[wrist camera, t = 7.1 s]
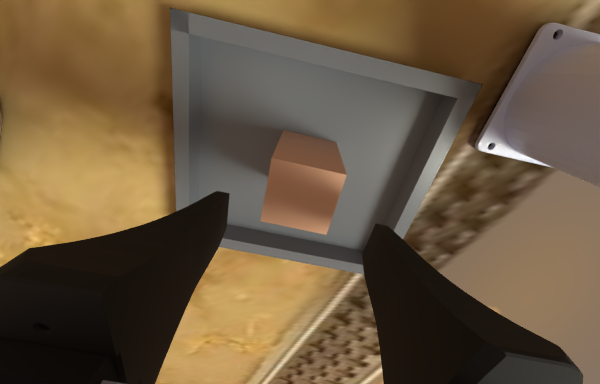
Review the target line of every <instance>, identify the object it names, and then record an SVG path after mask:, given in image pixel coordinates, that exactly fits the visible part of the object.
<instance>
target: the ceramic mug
mask: <svg viewBox="0 0 600 384" xmlns="http://www.w3.org/2000/svg"><path fill="white" fill-rule="evenodd" d="M1 130H2V116H1V109H0V137H1Z"/></svg>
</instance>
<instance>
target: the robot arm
mask: <svg viewBox="0 0 600 384" xmlns="http://www.w3.org/2000/svg"><path fill="white" fill-rule="evenodd" d="M556 31H557V36H556V37H555V38H554V39H553V35H554V33H555V32H556ZM490 143H492V145H491V147H489V148H487V147H488V145H489V144H490ZM475 148H476V149H477V150H479V151H482V152H487V153H491V154H495V155H500V156H504V157H509V158H513V159H517V160H522V161H526V162H531V163H535V164H539V165H544V166H548V167H553V168H556V169H558V170H561V171H563V172H565V173H567V174H570V175H572V176H574V177H577V178H579V179H582V180H584V181H586V182H589V183H591V184H593V185H595V186H598V187H600V34H596V33H592V32H589V31H585V30H581V29H577V28H574V27H570V26H566V25H562V24H559V23H547V24H545V25H543V26H542V27H541V28H540V29H539V30H538V32H537V33H536V35H535V37H534V39H533V41H532V42H531V44H530V46H529V48H528V50H527V51H526V53H525V55H524V57H523V58H522V60H521V62H520V64H519V66H518V67H517V69H516V71H515V73H514V75H513V76H512V78H511V80H510V82H509V84H508V85H507V87H506V89H505V91H504V92H503V94H502V96H501V98H500V100H499V101H498V103H497V105H496V107H495V109H494V110H493V112H492V114H491V116H490V117H489V119H488V121H487V123H486V125H485V126H484V128H483V130H482V132H481V134H480V135H479V137H478V139H477V141H476V143H475ZM229 196H230V193H225V192H220V191H215V192H213V193H212V194H210V195H208V196H206V197H204V198H202V199H200V200H199V201H197V202H195V203H193V204H191V205H189V206H187V207H185V208H183V209H181V210H178V211H176V212H174V213H172V214H170V215H168V216H165V217H163V218H160V219H158V220H155V221H152V222H149V223H146V224H144V225H141V226H137V227H134V228H130V229H127V230H123V231H120V232H116V233H113V234H108V235H104V236H100V237H95V238H90V239H85V240H80V241H75V242H69V243H62V244H56V245H49V246H43V247H35V248H29V249H27V250H26V251H24V252H23V253H21V254H20V255H18V256H17V257H15V258H14V259H12V260H11V261H9V262H8V263H6V264H5V265H3V266H1V267H0V384H155V382H156V380H157V377H158V374H159V372H160V369H161V367H162V364H163V362H164V359H165V357H166V354H167V352H168V349H169V347H170V344H171V342H172V340H173V337H174V335H175V332H176V330H177V328H178V325H179V323H180V321H181V318H182V316H183V314H184V311H185V309H186V307H187V305H188V303H189V300H190V298H191V296H192V294H193V292H194V290H195V288H196V286H197V284H198V282H199V280H200V279H201V277H202V275H203V273H204V272H205V270H206V268H207V267H208V265H209V263H210V261H211V260H212V258H213V256H214V254H215V253H216V251H217V249H218V247H219V246H220V243H221V241H222V238H223V236H224V233H225V231H226V228H227V219H228V207H229ZM362 260H363V270H364V276H365V280H366V284H367V288H368V292H369V296H370V300H371V304H372V308H373V312H374V316H375V320H376V325H377V332H378V338H379V345H380V353H381V362H382V370H383V380H384V384H582V383H583V374H582V373H581V371H580V370H579V369H578V367H577V366H576V365H575V364H574V363H573V362H572V361H571V359H570V358H569V357H568V356H567V355H566V353H565V352H564V351H563V350H562V349H561V348H560V347H559V346H557V345H556V344H554V343H552V342H550V341H548V340H546V339H544V338H542V337H540V336H538V335H536V334H534V333H532V332H531V331H529V330H527V329H525V328H523V327H521V326H519V325H517V324H515V323H514V322H512V321H510V320H509V319H507V318H505V317H503V316H502V315H500V314H498V313H497V312H495V311H493V310H492V309H490V308H488V307H487V306H485V305H484V304H482V303H481V302H479V301H478V300H476V299H475V298H473V297H472V296H470V295H468V294H467V293H465V292H464V291H463V290H461V289H460V288H459V287H457V286H456V285H455V284H453V283H452V282H450V281H449V280H448V279H447V278H445V277H444V276H443V275H442V274H440V273H439V272H438V271H437V270H435V269H434V268H433V267H432V266H431V265H430V264H429V263H427V262H426V261H425V260H424V259H423V258H422V257H421V256H420V255H419V254H417V253H416V252H415V251H414V250H413V249H412V248H411V247H410V246H409V245H408V244H407V243H406V242H405V241H404V240H403V239H402V238H401V237H400V236H399V235H398V234H396V233H395V232H394V231H393V230H392V229H391V228H390V227H388V226H386V225H381V224H375V226H374V228H373V231H372V233H371V235H370V237H369V240H368V242H367V244H366V247H365V249H364V251H363V254H362Z"/></svg>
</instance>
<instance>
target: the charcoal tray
mask: <svg viewBox="0 0 600 384" xmlns="http://www.w3.org/2000/svg"><path fill="white" fill-rule="evenodd" d="M170 24H171V58H172V91H173V124H174V158H175V191H176V211H178V210H181V209H183V208H185V207H187V206H189V205H191V204H193V203H195V202H197V201H199V200H200V199H202V198H204V197H206V196H208V195H210V194H212V193H213V192H215V191H220V192H225V193H230V196H229V207H228V219H227V228H226V231H225V233H224V236H223V238H222V241H221V243H220V246H219V247H222V248H228V249H233V250H238V251H244V252H249V253H254V254H259V255H265V256H270V257H275V258H281V259H286V260H291V261H296V262H302V263H307V264H312V265H318V266H323V267H328V268H333V269H339V270H344V271H349V272H354V273H360V274H364V270H363V260H362V254H363V251H364V249H365V247H366V244H367V242H368V240H369V237H370V235H371V233H372V231H373V228H374V226H375V224H381V225H386V226H388V227H390V228H391V229H392V230H393V231H394V232H395V233H396V234H398V235H399V236H400V237H401V238H402V239H403V238H404V236H405V234H406V232H407V230H408V228H409V226H410V224H411V222H412V221H413V219H414V217H415V215H416V213H417V211H418V209H419V207H420V205H421V203H422V201H423V199H424V197H425V195H426V193H427V191H428V189H429V188H430V186H431V184H432V182H433V180H434V178H435V176H436V174H437V172H438V170H439V168H440V166H441V164H442V162H443V160H444V158H445V156H446V155H447V153H448V151H449V149H450V147H451V145H452V143H453V141H454V139H455V137H456V135H457V133H458V131H459V129H460V127H461V125H462V123H463V121H464V120H465V118H466V116H467V114H468V112H469V110H470V108H471V106H472V104H473V102H474V100H475V98H476V96H477V94H478V92H479V90H480V88H481V87H482V85H483V84H480V83H475V82H471V81H467V80H463V79H459V78H455V77H451V76H447V75H443V74H439V73H435V72H431V71H427V70H422V69H418V68H414V67H410V66H406V65H402V64H398V63H394V62H390V61H386V60H382V59H378V58H373V57H369V56H365V55H361V54H357V53H353V52H349V51H345V50H341V49H337V48H333V47H329V46H324V45H320V44H316V43H312V42H308V41H304V40H300V39H296V38H292V37H288V36H284V35H280V34H275V33H271V32H267V31H263V30H259V29H255V28H251V27H247V26H243V25H239V24H235V23H231V22H226V21H222V20H218V19H214V18H210V17H206V16H202V15H198V14H194V13H190V12H186V11H182V10H177V9H173V8H170ZM283 130H285V131H290V132H294V133H298V134H302V135H307V136H311V137H315V138H320V139H324V140H328V141H332V142H336V143H337V146H338V149H339V152H340V155H341V158H342V161H343V164H344V168H345V171H346V174H347V176H346V179H345V182H344V185H343V188H342V191H341V194H340V196H339V199H338V202H337V205H336V208H335V211H334V214H333V217H332V220H331V223H330V226H329V229H328V232H327V234H326V235H325V234H320V233H315V232H310V231H306V230H301V229H296V228H291V227H286V226H281V225H277V224H272V223H267V222H262V221H260V220H261V214H262V209H263V203H264V198H265V192H266V186H267V181H268V175H269V170H270V164H271V158H272V156H273V153H274V151H275V149H276V146H277V144H278V142H279V139H280V137H281V135H282V132H283Z"/></svg>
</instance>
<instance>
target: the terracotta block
mask: <svg viewBox="0 0 600 384" xmlns="http://www.w3.org/2000/svg"><path fill="white" fill-rule="evenodd" d="M346 176H347V174H346V171H345V168H344V164H343V161H342V158H341V155H340V152H339V149H338V146H337V143H336V142H332V141H328V140H324V139H320V138H315V137H311V136H307V135H302V134H298V133H294V132H290V131H285V130H283V132H282V135H281V137H280V139H279V142H278V144H277V146H276V149H275V151H274V153H273V156H272V158H271V164H270V170H269V175H268V181H267V186H266V192H265V198H264V203H263V209H262V214H261V220H260V221H262V222H267V223H272V224H277V225H281V226H286V227H291V228H296V229H301V230H306V231H310V232H315V233H320V234H325V235H326V234H327V232H328V229H329V226H330V223H331V220H332V217H333V214H334V211H335V208H336V205H337V202H338V199H339V196H340V194H341V191H342V188H343V185H344V182H345V179H346Z"/></svg>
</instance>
